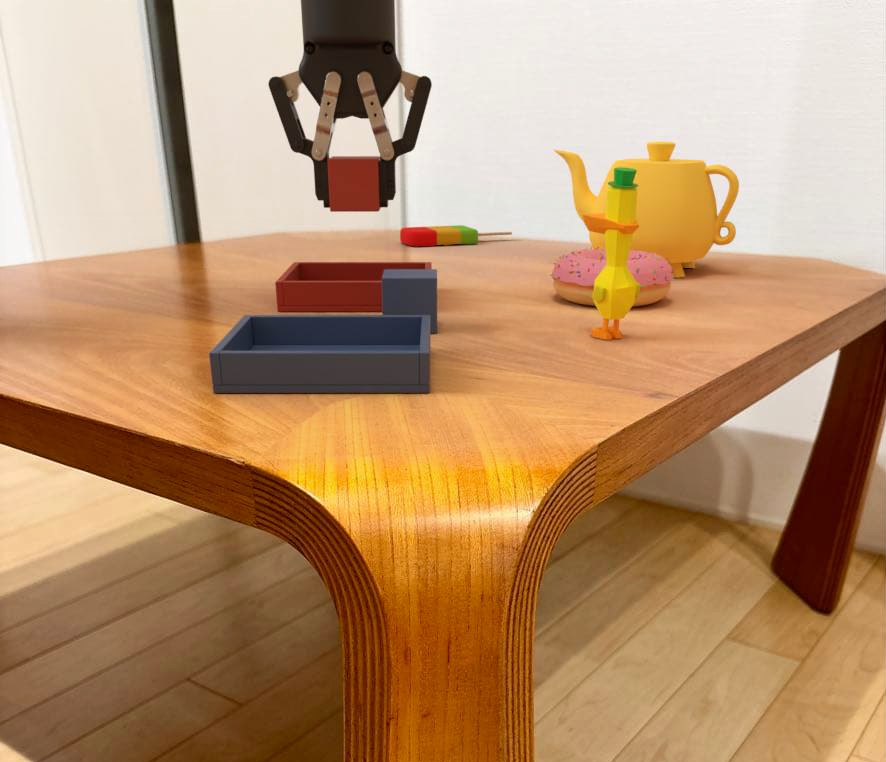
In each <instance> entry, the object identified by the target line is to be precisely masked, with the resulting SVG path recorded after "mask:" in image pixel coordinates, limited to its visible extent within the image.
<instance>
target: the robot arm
mask: <svg viewBox="0 0 886 762" xmlns="http://www.w3.org/2000/svg"><path fill="white" fill-rule="evenodd" d="M395 2H396V0H300V9H301V11H300V12H301V13H300V14H301V28H302V46H303V53H302V58H301V61H300V63H299V65H298V70H296V71H293V72H289V73H287V74H285V75H281V76H272V77H270V79H269V80H268V84H267V85H268V89H269V91H270V95H271V97H272V100H273V102H274V105H275V108H276V111H277V113H278V115H279V119H280V122H281V125H282V128H283V130H284V134H285V136H286V139H287V142H288V145H289V147H290V150H291V151H292V152H294V153H296V154H301V155H304V156H306V157H308V158H310V160H311V161H312V164H313V177H314V178H313V179H314V195H315V197H316V200H317V201H321V202H322V201H323V208H325V209H330V198H329V179H328V159H329V158H330V150H331V145H332V140H333V136H334V132H335V131H336V130H335V129H336V124H337V122H338V121H337V120H339V119H341V120H343V119H348V118H350V117H353V118H354V117H355V118H358V119H362V120H363V119H364V120H367V119H368V121H369V124H370V128H371V130H372V133H373V136H374V140H375V142H376V146H377V149H378V153H379V156H380V161H379V162H378V167H379V200H380V207H381V208H388V207H389V201H394V199H395V196H396V193H397V187H396V186H397V181H396V180H397V179H396V161H397V159H398V158H399V157H400V156H402V155H406V154H407V153H411V152H413V151H414V149H415V148H416V145H417V141H418V139H419V138H418V137H419V134H420V130H421V127H422V122H423V119H424V116H425V112H426V108H427V105H428V102H429V97H430V94H431V90H432V87H433V84H432V80H431V78H429V76H426V75H422V76H420V75H417V74H414V73H411V72H409V71H406V70H404V69H403V68H402V65H401V63H400V61H399V59H398V56H397V50H396V48H397V47H396V45H397V44H396V7H395V6H396V5H395V4H396V3H395ZM302 84H303V85H304V87H305V88H306V90H307V91H308V92H309V94H310V95H311V96H312V98H313V99H314V102H316V103H317V105H318V106H319V111H318V116H317V121H316V126H315V132H314V133H315V134H314V138H313V140H312V139H310V138H307V136H306V133H305V131H304V128H303V125H302V121H301V120H300V116H299V113H298V110H297V107H296V104H295V103H296V102H297V101H298V100H299V98H300V91H299V90H300V86H301V85H302ZM399 84H402V86H403V88H404V98H405V100H406V101H408V102H410V103H411V104H410V106H409V110H408V115H407V119H406V122H405V126H404V129H403V133H402V137H401V138H399V139H396V140H394V141H393V138H392V136H391V132H390V128H389V124H388V121H387V117H386V113H385V110H384V107H386V105H387V103H388V102H389V100H390V98H391V96H392V95H393V93H394V91H395V90H396V88H397V87H398V85H399Z"/></svg>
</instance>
